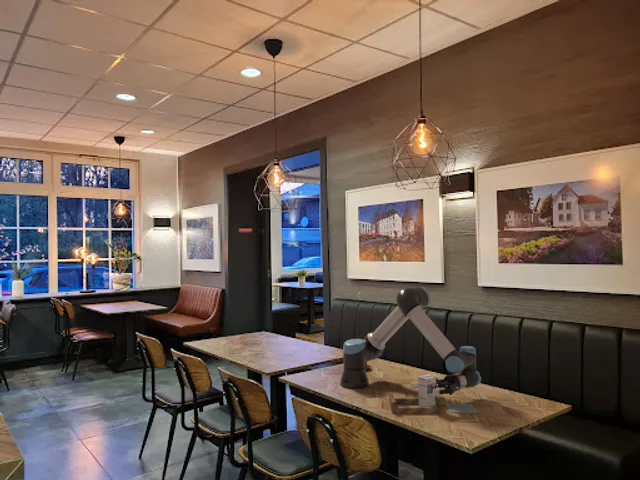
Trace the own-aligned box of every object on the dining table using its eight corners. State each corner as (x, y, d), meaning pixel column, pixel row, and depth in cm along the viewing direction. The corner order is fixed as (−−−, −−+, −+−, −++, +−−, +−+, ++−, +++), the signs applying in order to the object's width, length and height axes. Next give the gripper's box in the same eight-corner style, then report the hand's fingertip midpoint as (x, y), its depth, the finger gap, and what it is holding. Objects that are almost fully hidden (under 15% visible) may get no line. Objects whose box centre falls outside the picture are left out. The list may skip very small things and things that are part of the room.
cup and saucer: (369, 372, 292) (369, 361, 292) (349, 371, 295) (349, 360, 295) (371, 367, 304) (371, 357, 304) (352, 366, 306) (352, 356, 306)
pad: (450, 412, 217) (450, 412, 217) (444, 404, 229) (444, 403, 229) (478, 413, 217) (478, 412, 217) (471, 404, 229) (471, 404, 229)
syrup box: (426, 411, 220) (426, 378, 220) (418, 407, 225) (418, 375, 226) (436, 409, 223) (436, 376, 223) (428, 405, 228) (427, 374, 228)
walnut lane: (392, 413, 217) (392, 402, 217) (389, 403, 232) (389, 392, 232) (446, 414, 216) (446, 402, 216) (439, 403, 231) (439, 392, 231)
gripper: (476, 396, 223) (443, 405, 212) (434, 384, 244) (403, 391, 233) (475, 380, 224) (443, 387, 212) (434, 369, 244) (402, 375, 233)
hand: (422, 389), depth 222 cm, fingers open, 13 cm apart
